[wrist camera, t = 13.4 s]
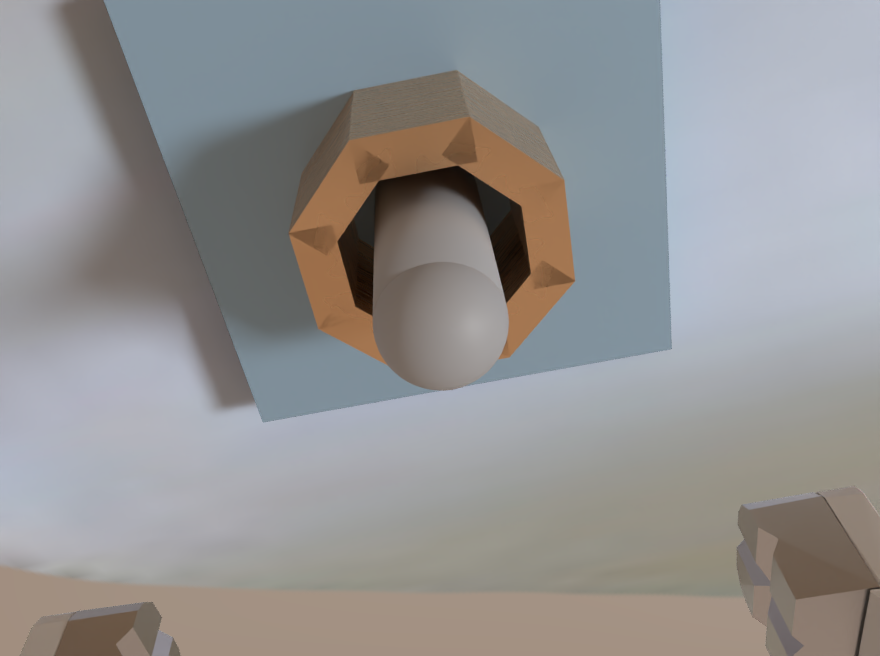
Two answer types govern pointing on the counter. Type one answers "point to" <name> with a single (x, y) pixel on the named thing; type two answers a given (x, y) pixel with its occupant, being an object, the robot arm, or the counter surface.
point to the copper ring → (419, 150)
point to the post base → (298, 90)
